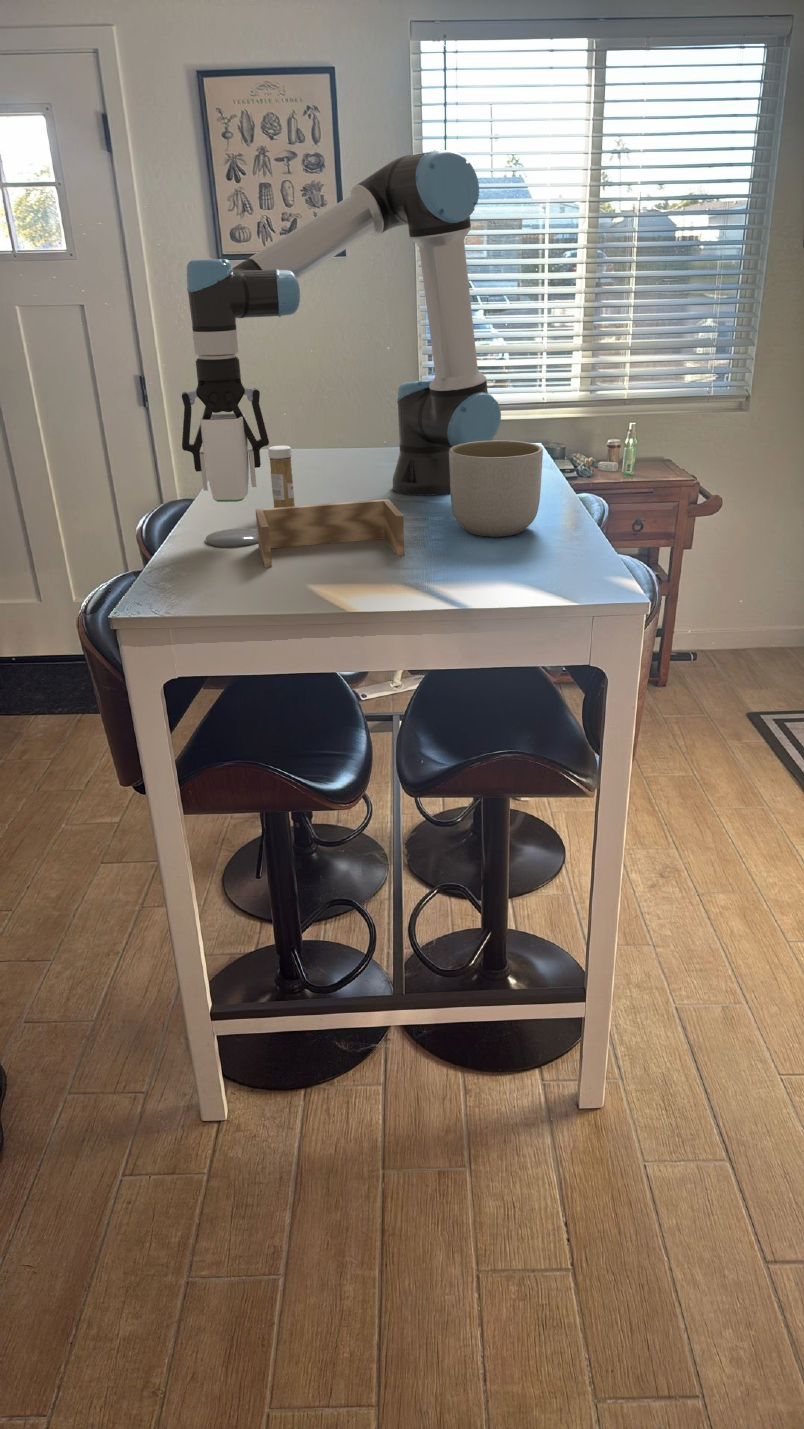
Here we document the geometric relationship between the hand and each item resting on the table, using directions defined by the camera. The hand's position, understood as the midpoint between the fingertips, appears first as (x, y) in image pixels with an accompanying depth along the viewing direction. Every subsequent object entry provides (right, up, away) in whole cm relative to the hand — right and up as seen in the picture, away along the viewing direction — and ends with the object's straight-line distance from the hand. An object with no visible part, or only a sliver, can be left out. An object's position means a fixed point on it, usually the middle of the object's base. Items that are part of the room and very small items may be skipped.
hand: (229, 487), depth 183 cm
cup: (0, -2, +1) cm, 2 cm away
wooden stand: (+19, -13, -5) cm, 23 cm away
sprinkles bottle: (+8, -1, +21) cm, 23 cm away
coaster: (0, -9, +4) cm, 10 cm away
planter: (+49, -7, +5) cm, 50 cm away
